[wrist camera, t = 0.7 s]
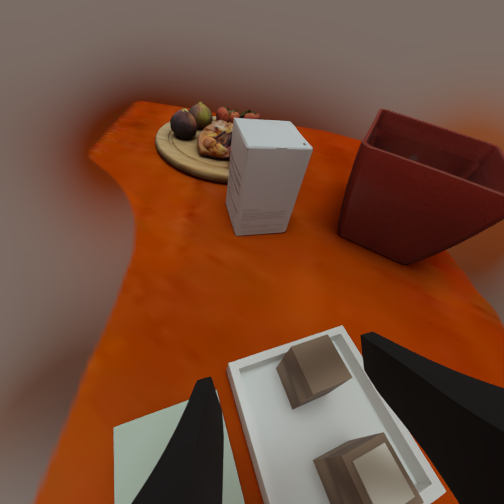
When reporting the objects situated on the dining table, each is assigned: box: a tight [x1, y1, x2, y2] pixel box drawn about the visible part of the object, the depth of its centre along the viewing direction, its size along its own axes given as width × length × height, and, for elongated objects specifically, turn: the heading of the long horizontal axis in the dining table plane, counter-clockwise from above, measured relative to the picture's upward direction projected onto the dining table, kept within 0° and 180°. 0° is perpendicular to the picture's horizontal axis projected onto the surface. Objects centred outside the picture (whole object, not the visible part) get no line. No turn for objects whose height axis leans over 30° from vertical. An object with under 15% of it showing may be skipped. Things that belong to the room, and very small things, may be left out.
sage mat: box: [114, 390, 245, 504], centre depth 19 cm, size 12×9×1 cm
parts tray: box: [226, 325, 446, 504], centre depth 23 cm, size 15×14×2 cm
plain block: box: [276, 334, 353, 410], centre depth 24 cm, size 4×4×6 cm
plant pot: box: [338, 109, 504, 265], centre depth 40 cm, size 19×19×17 cm
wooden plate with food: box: [155, 102, 261, 183], centre depth 57 cm, size 32×32×8 cm
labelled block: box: [313, 432, 424, 504], centre depth 19 cm, size 4×4×6 cm
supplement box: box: [226, 118, 313, 236], centre depth 38 cm, size 9×9×15 cm
